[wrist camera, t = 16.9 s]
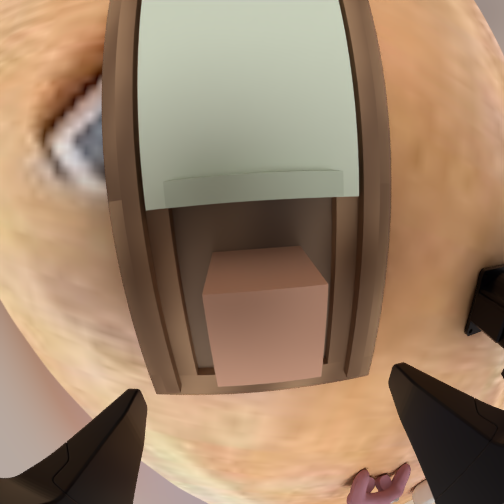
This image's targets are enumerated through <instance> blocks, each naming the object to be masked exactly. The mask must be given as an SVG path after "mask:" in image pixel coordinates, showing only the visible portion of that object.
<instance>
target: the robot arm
mask: <svg viewBox="0 0 504 504" xmlns="http://www.w3.org/2000/svg"><path fill="white" fill-rule="evenodd" d="M480 331H483V332H484V333H485V334H486V335H487V336H488V337H490V338H491V339H492V340H493V341H494V342H495V343H498V344H499V345H500V346H501V347H503V348H504V265H500V266H495V267H490V268H485V269H482V270H481V272H480V275H479V279H478V284H477V288H476V292H475V296H474V300H473V304H472V308H471V312H470V315H469V319H468V322H467V325H466V328H465V334H466V335H467V336H470V335H472V334H475V333H478V332H480ZM501 375H502V376H503V378H504V369H503V371H502V373H501ZM388 384H389V388H390V391H391V394H392V397H393V400H394V403H395V406H396V409H397V412H398V415H399V418H400V420H401V422H402V425H403V427H404V429H405V431H406V433H407V436H408V438H409V440H410V442H411V445H412V447H413V449H414V451H415V454H416V456H417V458H418V461H419V463H420V465H421V468H422V470H423V473H424V475H425V478H426V480H427V483H428V485H429V488H430V490H431V493H432V495H433V498H434V500H435V504H504V410H501V409H499V408H496V407H493V406H491V405H489V404H486V403H484V402H482V401H480V400H478V399H476V398H475V399H474V397H472V396H470V395H468V394H466V393H464V392H461V391H459V390H457V389H455V388H453V387H451V386H449V385H447V384H445V383H443V382H441V381H439V380H437V379H435V378H434V377H432V376H430V375H428V374H426V373H424V372H422V371H420V370H418V369H416V368H414V367H412V366H410V365H408V364H406V363H404V362H402V363H398V364H395V365H394V366H393V367H392V371H391V374H390V378H389V382H388ZM146 417H147V405H146V402H145V400H144V397H143V395H142V393H141V391H140V390H139V389H128V390H126V391H125V392H124V393H123V394H122V395H121V396H120V397H118V398H117V399H116V400H115V401H114V402H113V403H111V404H110V405H109V406H108V407H107V408H106V409H105V410H103V411H102V412H101V413H100V414H99V415H98V416H96V417H95V418H94V419H93V420H92V421H91V422H89V423H88V424H87V425H86V426H85V427H84V428H82V429H81V430H80V431H79V432H78V433H76V434H75V435H74V436H73V437H72V438H71V439H69V440H68V441H67V443H64V444H63V445H62V446H61V447H60V448H58V449H57V450H56V451H55V452H54V453H52V454H51V455H49V456H48V457H47V458H45V459H43V460H42V461H41V462H39V463H38V464H36V465H34V466H33V467H31V468H29V469H28V470H26V471H25V472H23V473H21V474H20V475H18V476H15V477H12V478H0V504H133V499H134V493H135V488H136V482H137V477H138V472H139V466H140V462H141V457H142V452H143V447H144V439H145V427H146Z"/></svg>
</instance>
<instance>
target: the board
mask: <svg viewBox="0 0 504 504" xmlns="http://www.w3.org/2000/svg"><path fill="white" fill-rule="evenodd" d="M338 1H339V5H340V10H341V14H342V19H343V24H344V29H345V35H346V41H347V47H348V53H349V60H350V67H351V74H352V82H353V91H354V101H355V112H356V125H357V140H358V164H359V196H352V197H320V198H296V199H276V200H259V201H244V202H230V203H218V204H206V205H195V206H185V207H175V208H164V209H155V210H146V207H145V199H144V190H143V180H142V169H141V157H140V142H139V123H138V47H139V29H140V16H141V5H142V0H110V3H109V10H108V17H107V24H106V33H105V43H104V55H103V71H102V136H103V153H104V167H105V177H106V187H107V196H108V204H109V211H110V218H111V224H112V231H113V236H114V242H115V248H116V253H117V258H118V263H119V268H120V272H121V277H122V281H123V286H124V290H125V294H126V298H127V302H128V306H129V310H130V314H131V317H132V321H133V324H134V328H135V331H136V335H137V338H138V341H139V345H140V348H141V351H142V354H143V357H144V360H145V363H146V366H147V369H148V372H149V375H150V378H151V380H152V383H153V386H154V388H155V391H156V394H170V395H213V394H237V393H252V392H264V391H274V390H283V389H292V388H300V387H307V386H313V385H320V384H326V383H332V382H337V381H343V380H348V379H353V378H357V377H362V376H367V375H368V374H369V370H370V366H371V361H372V357H373V352H374V347H375V342H376V337H377V332H378V326H379V320H380V314H381V308H382V301H383V294H384V286H385V278H386V269H387V259H388V248H389V233H390V214H391V150H390V131H389V118H388V107H387V97H386V89H385V81H384V74H383V67H382V61H381V55H380V50H379V44H378V39H377V35H376V30H375V25H374V21H373V17H372V13H371V9H370V5H369V1H368V0H338ZM289 246H301V248H302V249H303V250H304V252H305V253H306V254H307V256H308V257H309V258H310V260H311V261H312V263H313V264H314V265H315V267H316V268H317V269H318V271H319V272H320V273H321V275H322V276H323V277H324V279H325V280H326V282H327V283H328V302H327V318H326V332H325V344H324V355H323V365H322V374H321V377H315V378H309V379H302V380H294V381H286V382H277V383H267V384H256V385H242V386H224V387H218V385H217V380H216V374H215V369H214V364H213V358H212V353H211V347H210V341H209V335H208V329H207V323H206V317H205V311H204V304H203V298H202V293H203V289H204V285H205V281H206V277H207V273H208V269H209V265H210V261H211V257H212V253H213V252H223V251H236V250H249V249H263V248H276V247H289Z"/></svg>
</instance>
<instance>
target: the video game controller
mask: <svg viewBox="0 0 504 504" xmlns="http://www.w3.org/2000/svg"><path fill="white" fill-rule="evenodd" d="M410 471H411V469H410V465H409V464H403V465H402V466H401V467H400V468H399V469H398V471H397V472H396V474H395V476H394V477H393V479H392V481H391V479H390V477H389V476H388V475H382V476H379V477H377V479H376V480H374V479H373V478H371V477H369V472H368V471H367V470H361V471H360V472H359V473H358V474H357V475H356V477H355V479H354V481H353V483H352V486H351V490H350V493H349V495H348V497H347V504H391V503H393V502H397V501H398V500H399V497H400V496H401V495H402V494H403V491H404V488H405V485H406V483H407V481H408V478H409V476H410ZM374 486H376V488H377V489H378V492H376V493H371V491H372V490H373V488H374Z"/></svg>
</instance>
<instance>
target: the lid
mask: <svg viewBox="0 0 504 504" xmlns="http://www.w3.org/2000/svg"><path fill="white" fill-rule="evenodd" d="M138 123H139V142H140V157H141V169H142V180H143V190H144V199H145V207H146V210H155V209H164V208H175V207H185V206H195V205H206V204H218V203H230V202H244V201H259V200H276V199H296V198H320V197H352V196H359V164H358V140H357V125H356V112H355V101H354V91H353V82H352V74H351V67H350V60H349V53H348V47H347V41H346V35H345V29H344V24H343V19H342V14H341V10H340V5H339V1H338V0H142V5H141V16H140V29H139V47H138Z"/></svg>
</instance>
